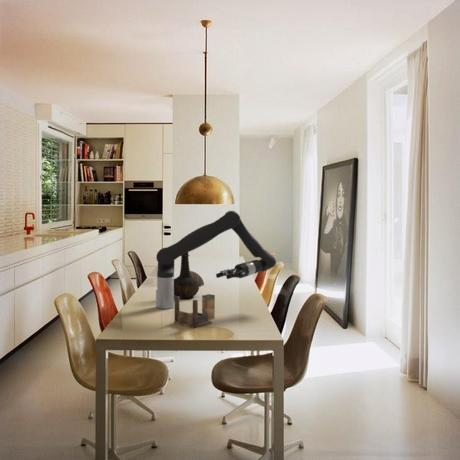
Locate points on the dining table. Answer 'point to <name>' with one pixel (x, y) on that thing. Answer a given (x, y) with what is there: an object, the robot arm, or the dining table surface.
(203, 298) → the brown wooden block
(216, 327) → the dining table surface
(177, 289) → the glass bottle
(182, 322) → the board
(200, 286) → the decorative dome
